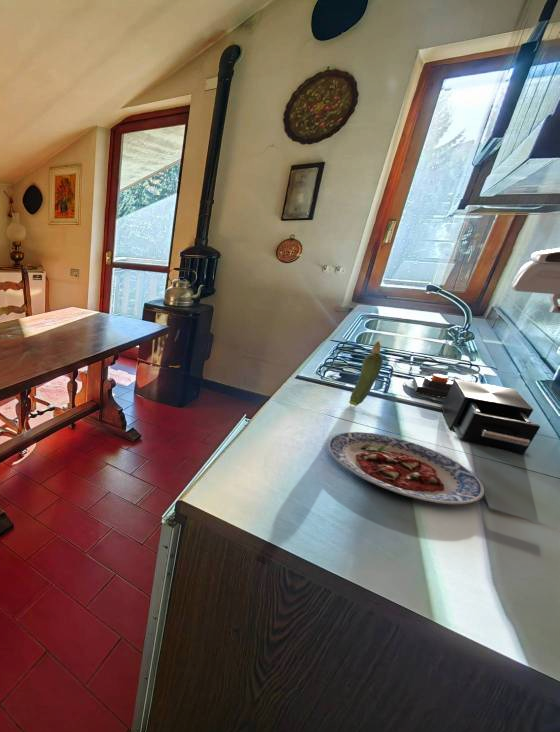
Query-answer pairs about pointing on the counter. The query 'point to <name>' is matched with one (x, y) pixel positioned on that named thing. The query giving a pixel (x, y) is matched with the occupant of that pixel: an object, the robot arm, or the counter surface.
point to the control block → (431, 386)
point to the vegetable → (367, 375)
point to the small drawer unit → (496, 427)
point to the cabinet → (479, 399)
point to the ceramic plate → (406, 468)
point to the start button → (440, 378)
